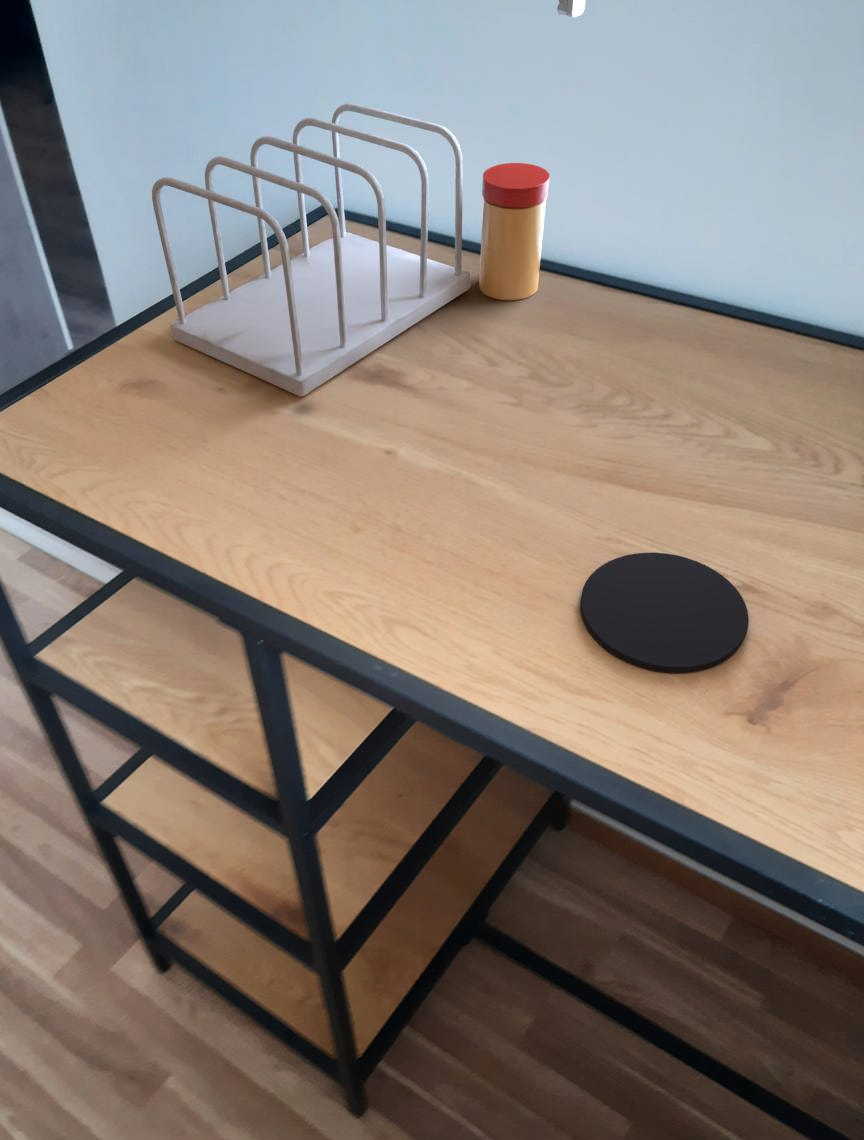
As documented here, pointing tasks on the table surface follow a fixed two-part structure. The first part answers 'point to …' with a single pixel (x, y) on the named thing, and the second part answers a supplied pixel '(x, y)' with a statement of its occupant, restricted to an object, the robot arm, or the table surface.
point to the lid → (515, 185)
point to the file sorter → (317, 273)
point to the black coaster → (664, 612)
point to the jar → (511, 250)
